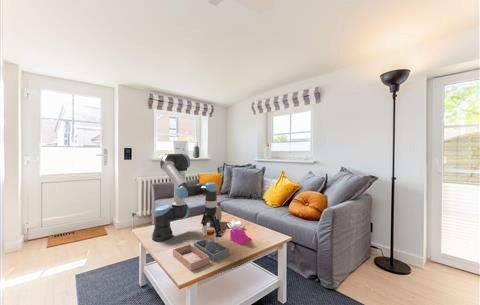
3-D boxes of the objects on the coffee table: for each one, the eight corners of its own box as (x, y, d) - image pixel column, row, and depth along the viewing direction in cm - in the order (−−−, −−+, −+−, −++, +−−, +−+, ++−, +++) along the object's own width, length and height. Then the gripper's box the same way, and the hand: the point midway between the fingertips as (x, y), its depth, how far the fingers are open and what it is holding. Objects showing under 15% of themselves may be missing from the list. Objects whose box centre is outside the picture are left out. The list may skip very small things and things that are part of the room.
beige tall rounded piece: (212, 221, 201) (212, 197, 201) (221, 222, 199) (221, 197, 199) (204, 227, 185) (204, 201, 185) (214, 228, 182) (214, 201, 182)
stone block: (205, 251, 141) (205, 239, 140) (211, 249, 144) (211, 237, 144) (209, 254, 137) (209, 242, 137) (216, 251, 140) (216, 239, 140)
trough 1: (172, 255, 135) (172, 249, 135) (190, 249, 143) (190, 243, 143) (190, 270, 118) (190, 263, 118) (209, 263, 126) (209, 256, 126)
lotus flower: (226, 226, 188) (226, 216, 188) (243, 226, 188) (243, 216, 188) (225, 232, 174) (225, 221, 174) (243, 232, 174) (243, 221, 174)
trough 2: (193, 248, 145) (193, 242, 145) (208, 243, 153) (208, 237, 153) (213, 261, 128) (213, 255, 128) (228, 255, 136) (228, 248, 136)
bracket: (240, 245, 151) (240, 230, 151) (230, 240, 158) (230, 227, 158) (251, 240, 159) (251, 226, 159) (241, 236, 167) (241, 223, 167)
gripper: (196, 203, 147) (195, 233, 147) (217, 211, 129) (216, 246, 129) (205, 201, 152) (205, 231, 153) (227, 209, 134) (226, 243, 134)
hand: (210, 238), depth 141 cm, fingers open, 13 cm apart
